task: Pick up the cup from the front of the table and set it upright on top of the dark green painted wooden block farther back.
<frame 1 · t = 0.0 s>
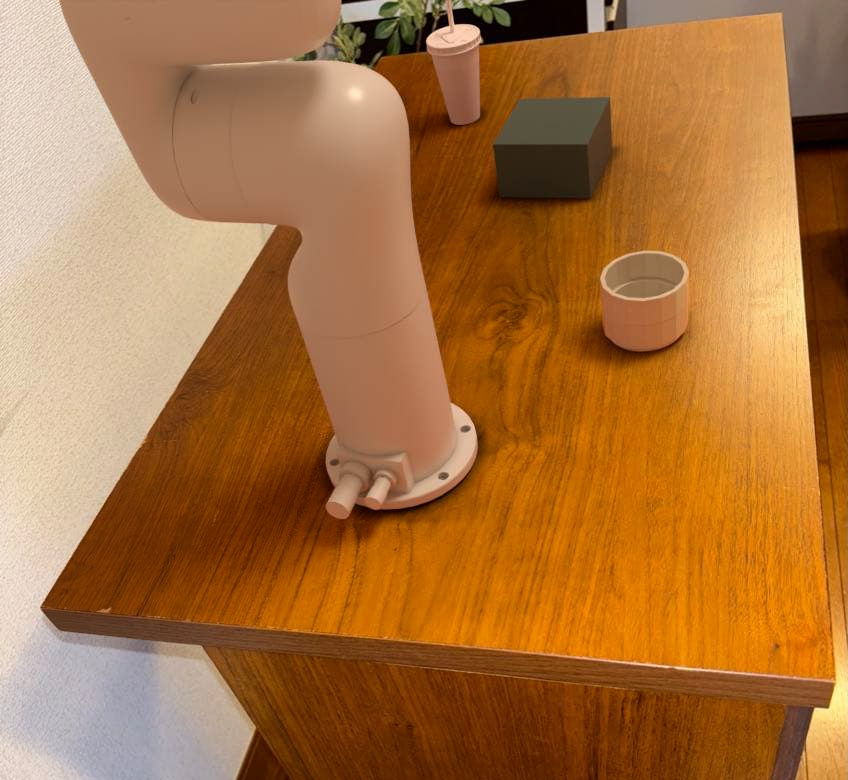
stand: (556, 173, 107), on the table
smoothie: (465, 119, 120), on the table
cup: (645, 328, 86), on the table
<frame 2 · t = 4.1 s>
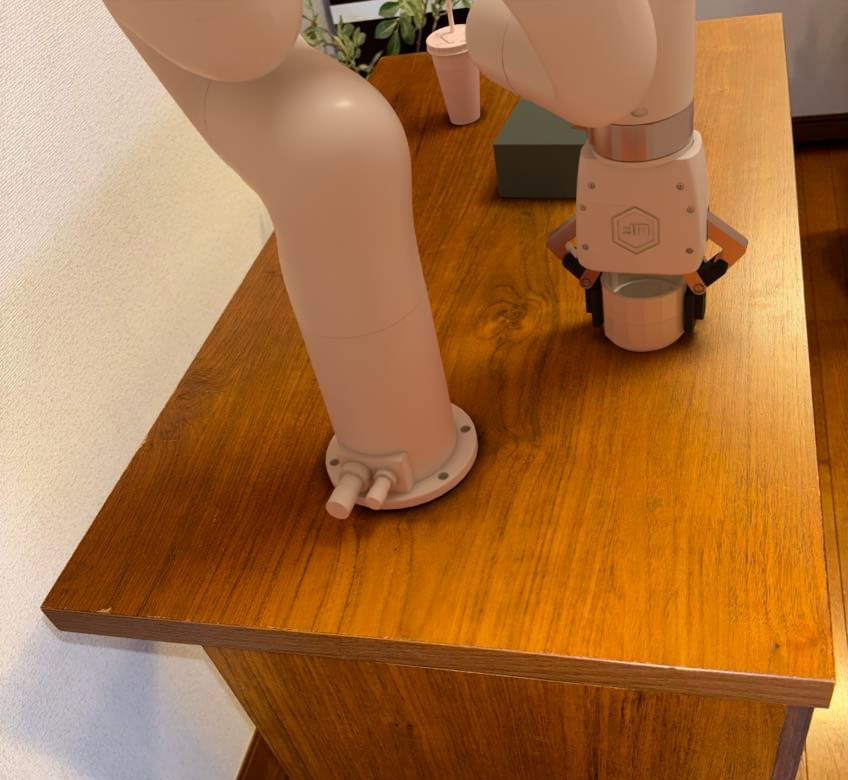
hand: (645, 320, 86), 1 cm above the table, tool pointing down, fingers closed on cup, 7 cm apart
cup: (645, 328, 86), on the table, touching gripper
everything else where it was.
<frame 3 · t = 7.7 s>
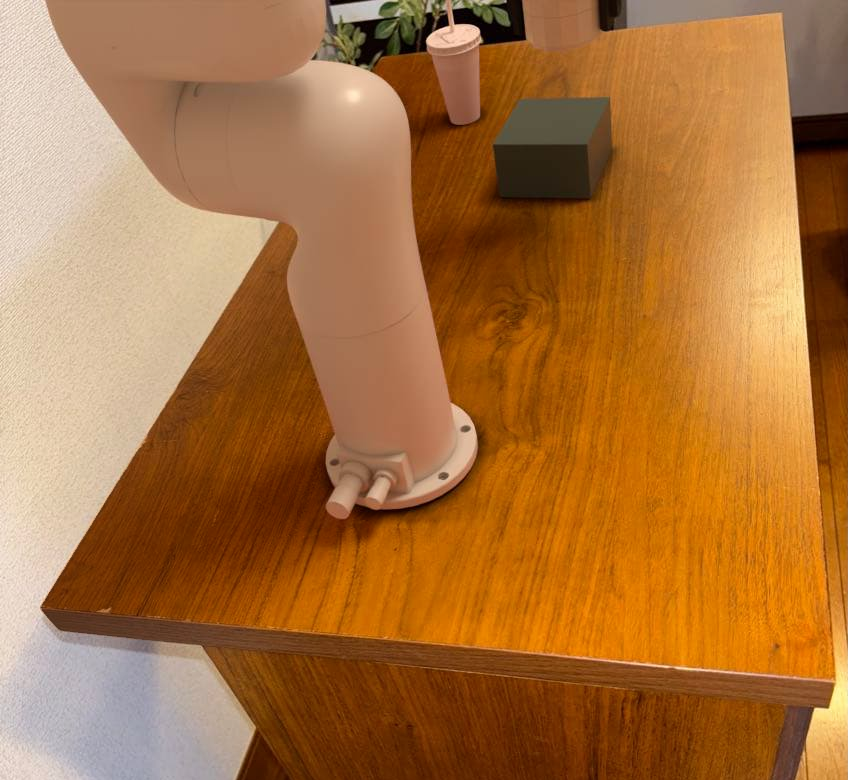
hand: (565, 25, 88), 18 cm above the table, tool pointing down, fingers closed on cup, 7 cm apart
cup: (565, 35, 89), point 17 cm above the table, touching gripper
everything else where it was.
when the fingers open (7 cm above the table, at t = 11.5 s): cup stays where it is, resting on stand.
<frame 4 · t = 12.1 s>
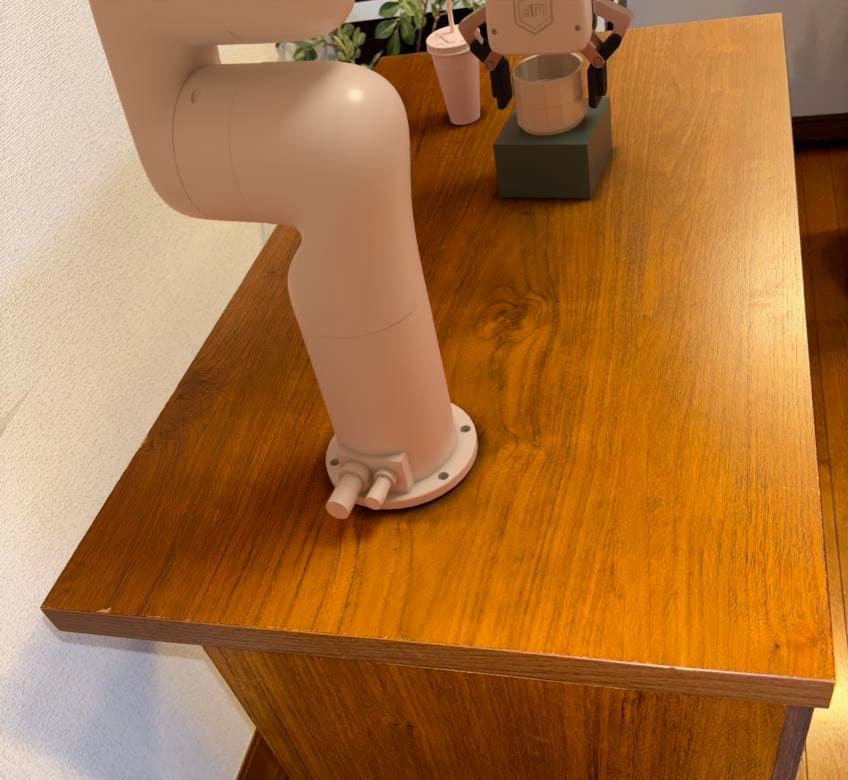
hand: (550, 102, 101), 8 cm above the table, tool pointing down, fingers open, 9 cm apart
cup: (552, 120, 103), point 6 cm above the table, touching stand
everything else where it was.
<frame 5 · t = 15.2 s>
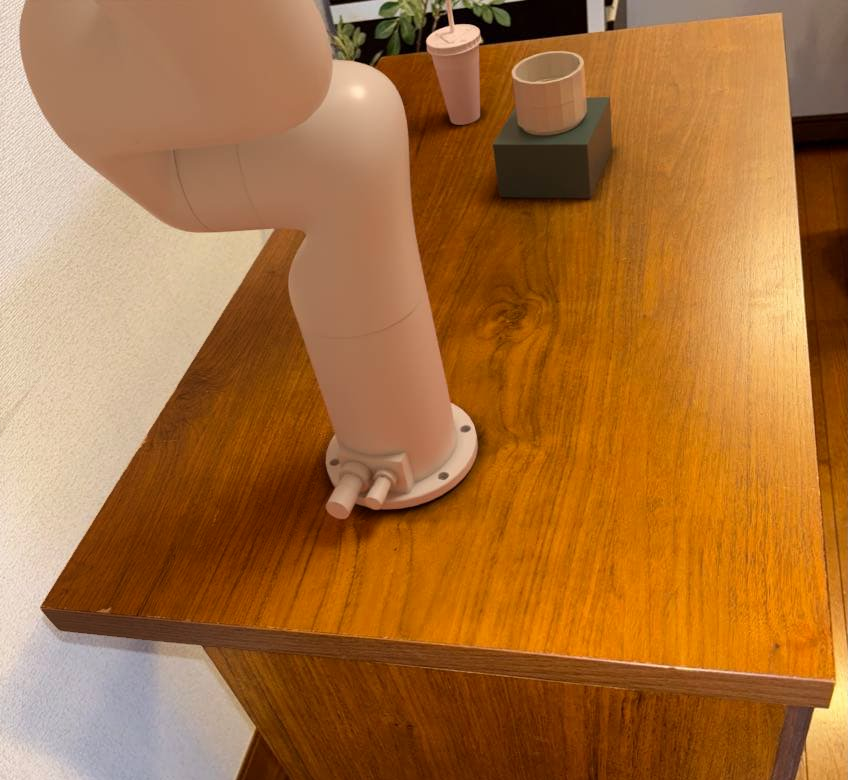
nothing on the table moved.
at the end: cup 0.0 cm off-centre on the stand, point 6.0 cm above the stand's base; cup tilted 0° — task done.
